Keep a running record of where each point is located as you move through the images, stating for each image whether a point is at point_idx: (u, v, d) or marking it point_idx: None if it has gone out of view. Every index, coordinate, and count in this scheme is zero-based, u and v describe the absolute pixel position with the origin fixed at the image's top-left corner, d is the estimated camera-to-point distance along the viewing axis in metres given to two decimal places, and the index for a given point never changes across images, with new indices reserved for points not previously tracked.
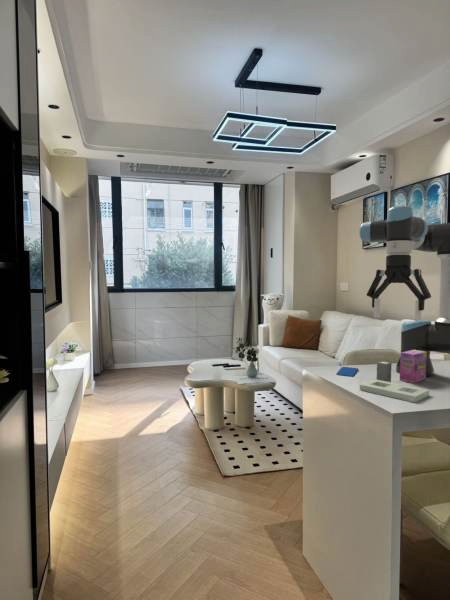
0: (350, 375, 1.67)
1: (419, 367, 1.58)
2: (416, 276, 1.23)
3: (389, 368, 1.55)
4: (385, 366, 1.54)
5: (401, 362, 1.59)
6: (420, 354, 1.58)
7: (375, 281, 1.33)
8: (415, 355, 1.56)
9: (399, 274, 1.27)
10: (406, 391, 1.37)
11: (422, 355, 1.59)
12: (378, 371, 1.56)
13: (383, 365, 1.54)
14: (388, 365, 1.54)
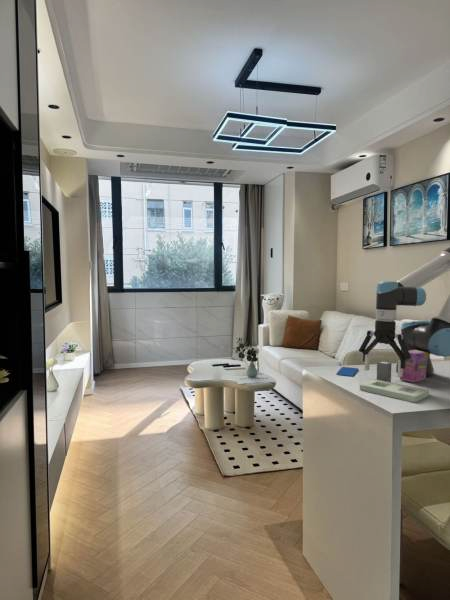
0: (350, 375, 1.67)
1: (420, 367, 1.58)
2: (399, 340, 1.50)
3: (389, 368, 1.55)
4: (385, 366, 1.54)
5: None
6: (421, 354, 1.58)
7: (366, 340, 1.60)
8: (416, 354, 1.56)
9: (385, 337, 1.53)
10: (406, 391, 1.37)
11: (424, 356, 1.59)
12: (378, 371, 1.56)
13: (383, 365, 1.54)
14: (388, 365, 1.54)
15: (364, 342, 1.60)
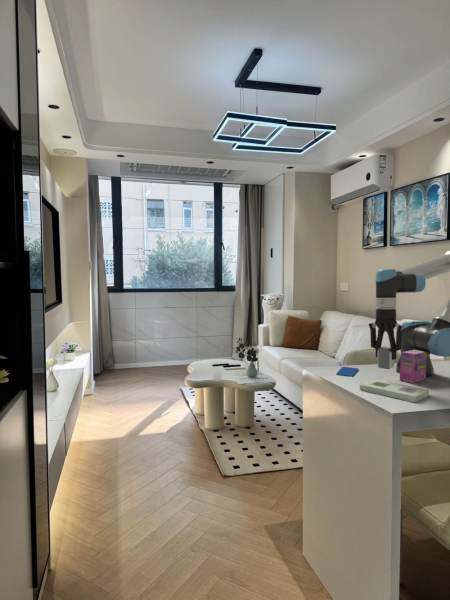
0: (350, 375, 1.67)
1: (419, 367, 1.58)
2: (397, 331, 1.51)
3: None
4: (387, 351, 1.53)
5: (401, 362, 1.59)
6: (420, 354, 1.58)
7: (372, 333, 1.58)
8: (415, 355, 1.56)
9: (386, 325, 1.53)
10: (406, 391, 1.37)
11: (423, 356, 1.59)
12: (380, 356, 1.56)
13: (385, 350, 1.54)
14: (390, 350, 1.54)
15: (371, 336, 1.59)
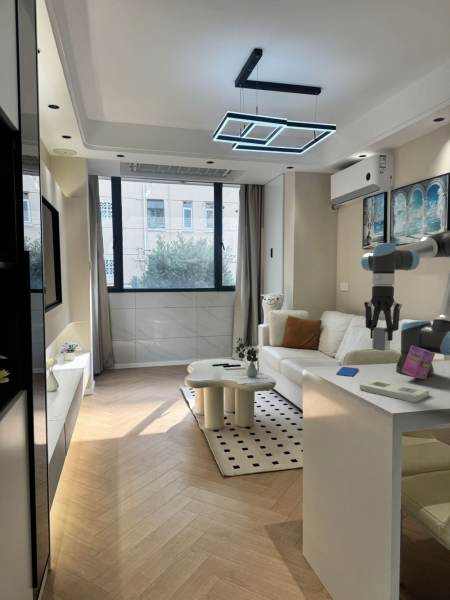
0: (350, 375, 1.67)
1: (424, 365, 1.58)
2: (395, 309, 1.40)
3: None
4: (382, 331, 1.42)
5: (409, 355, 1.59)
6: (429, 352, 1.58)
7: (367, 312, 1.48)
8: (425, 351, 1.55)
9: (383, 303, 1.42)
10: (406, 391, 1.37)
11: (431, 355, 1.59)
12: (375, 337, 1.45)
13: (380, 330, 1.43)
14: (385, 330, 1.43)
15: (367, 316, 1.48)
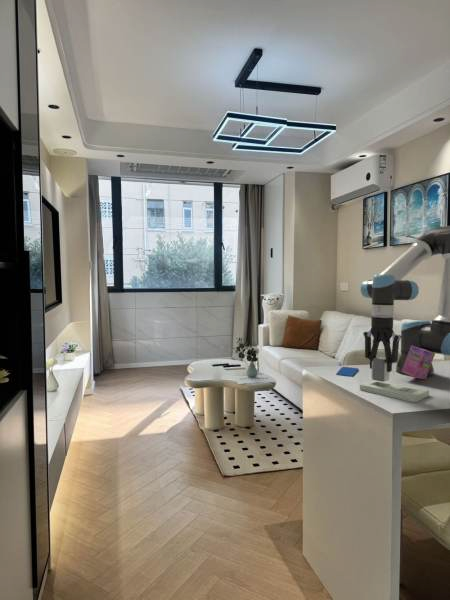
0: (350, 375, 1.67)
1: (424, 365, 1.58)
2: (394, 341, 1.40)
3: None
4: (382, 362, 1.43)
5: (409, 355, 1.59)
6: (429, 352, 1.58)
7: (366, 342, 1.48)
8: (425, 351, 1.55)
9: (382, 334, 1.43)
10: (406, 391, 1.37)
11: (431, 355, 1.59)
12: (374, 367, 1.45)
13: (379, 361, 1.44)
14: (385, 361, 1.43)
15: (366, 346, 1.48)
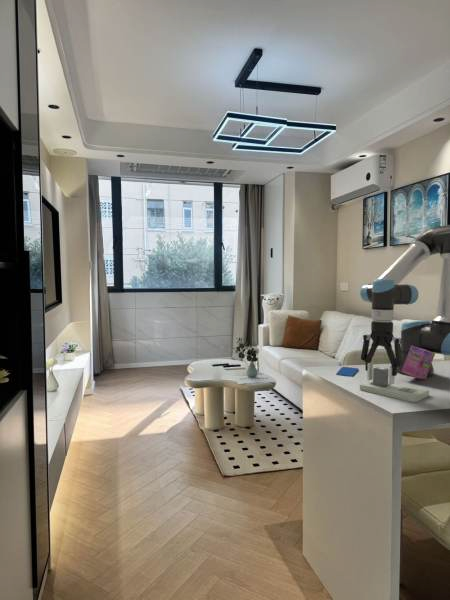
0: (350, 375, 1.67)
1: (424, 365, 1.58)
2: (395, 345, 1.40)
3: (386, 374, 1.44)
4: (382, 372, 1.43)
5: (409, 355, 1.59)
6: (429, 352, 1.58)
7: (364, 345, 1.49)
8: (425, 351, 1.55)
9: (382, 339, 1.43)
10: (406, 391, 1.37)
11: (431, 355, 1.59)
12: (374, 377, 1.45)
13: (380, 371, 1.44)
14: (385, 371, 1.44)
15: (363, 348, 1.49)
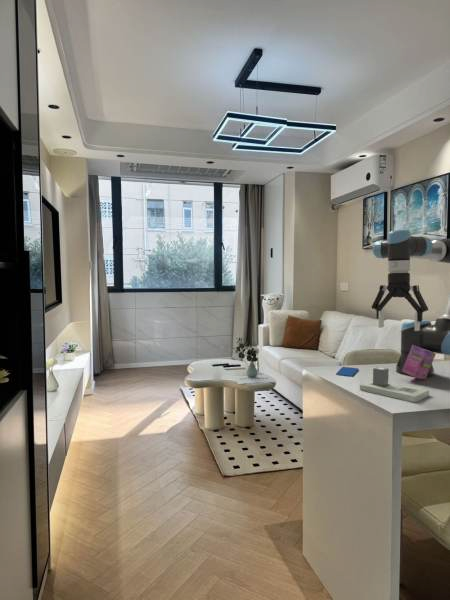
0: (350, 375, 1.67)
1: (425, 364, 1.58)
2: (414, 292, 1.41)
3: (386, 374, 1.44)
4: (382, 372, 1.43)
5: (409, 354, 1.59)
6: (430, 352, 1.58)
7: (379, 295, 1.51)
8: (426, 351, 1.55)
9: (400, 290, 1.44)
10: (406, 391, 1.37)
11: (431, 355, 1.59)
12: (374, 377, 1.45)
13: (380, 371, 1.44)
14: (385, 371, 1.44)
15: (377, 298, 1.51)
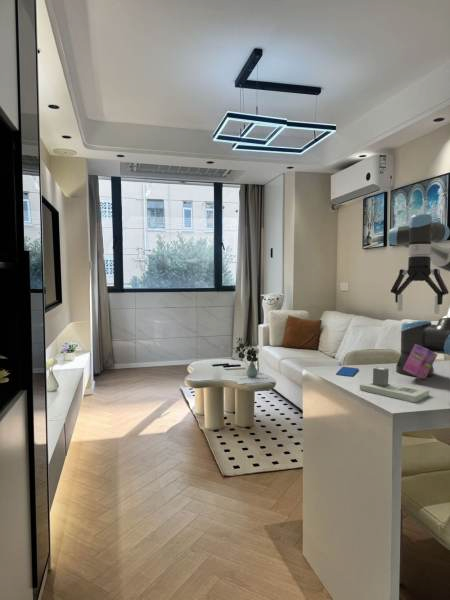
0: (350, 375, 1.67)
1: (426, 364, 1.58)
2: (435, 275, 1.43)
3: (386, 374, 1.44)
4: (382, 372, 1.43)
5: (412, 353, 1.58)
6: (432, 353, 1.58)
7: (398, 279, 1.53)
8: (428, 351, 1.55)
9: (420, 273, 1.46)
10: (406, 391, 1.37)
11: (433, 355, 1.59)
12: (374, 377, 1.45)
13: (380, 371, 1.44)
14: (385, 371, 1.44)
15: (396, 282, 1.53)
